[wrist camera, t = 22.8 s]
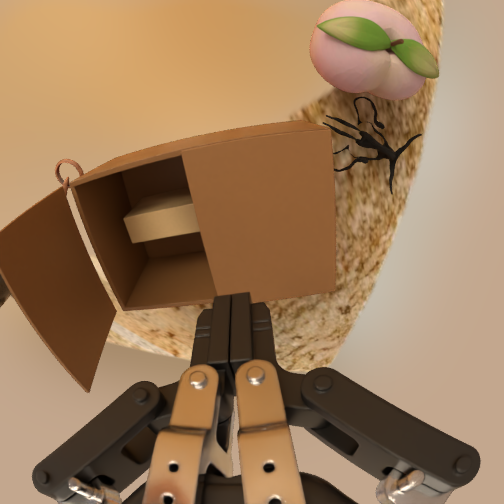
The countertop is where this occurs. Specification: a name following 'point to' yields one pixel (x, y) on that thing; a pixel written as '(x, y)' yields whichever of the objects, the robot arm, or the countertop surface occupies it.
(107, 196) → the carton
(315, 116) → the countertop surface
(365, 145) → the creature
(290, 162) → the flap
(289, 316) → the countertop surface
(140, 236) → the tan wooden block
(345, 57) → the decorative fruit
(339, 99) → the countertop surface
